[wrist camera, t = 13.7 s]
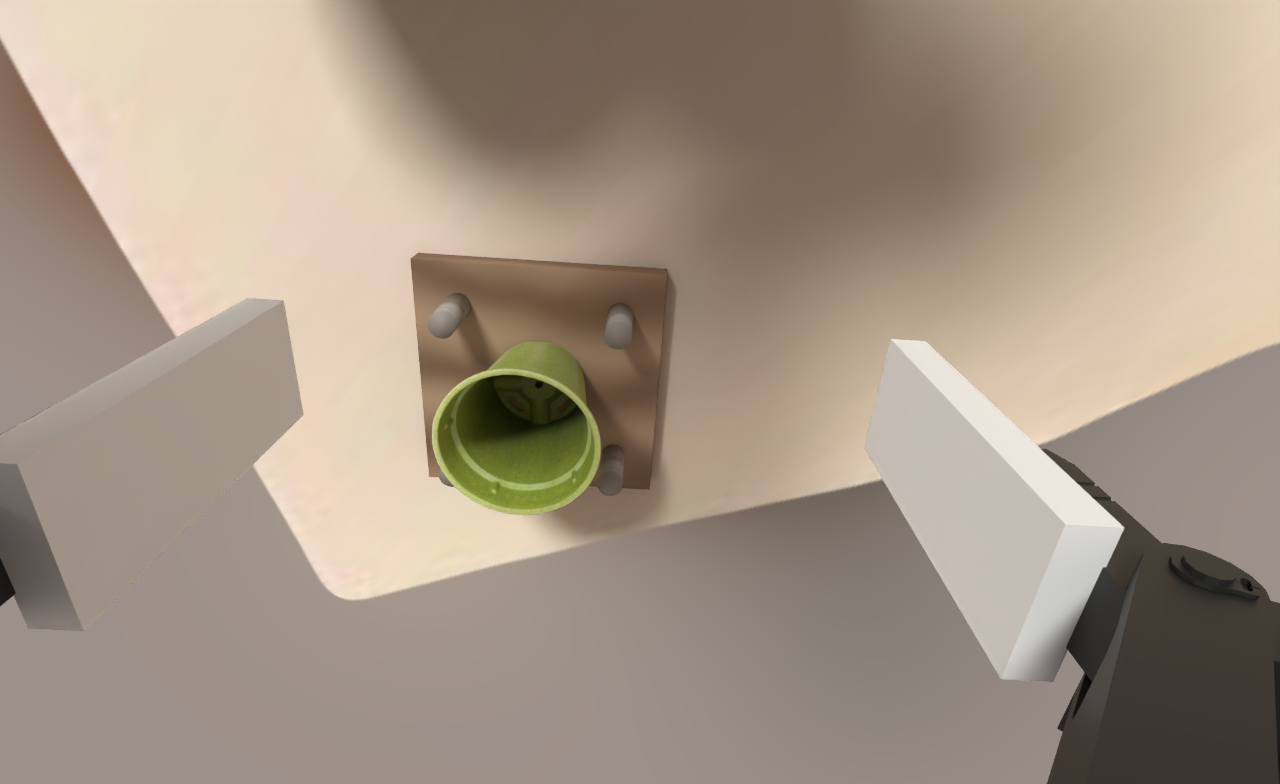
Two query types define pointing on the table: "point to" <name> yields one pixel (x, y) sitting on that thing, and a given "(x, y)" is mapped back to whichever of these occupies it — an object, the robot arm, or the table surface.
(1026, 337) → the table surface
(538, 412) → the plant pot
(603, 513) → the table surface
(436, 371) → the stand
